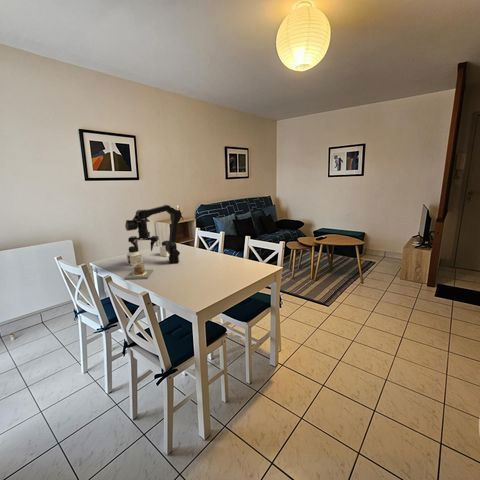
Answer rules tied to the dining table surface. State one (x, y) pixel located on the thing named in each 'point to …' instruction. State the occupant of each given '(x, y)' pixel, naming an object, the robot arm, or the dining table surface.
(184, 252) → the dining table surface
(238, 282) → the dining table surface
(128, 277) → the coaster
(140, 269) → the cube
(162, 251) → the medicine bottle
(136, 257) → the container
